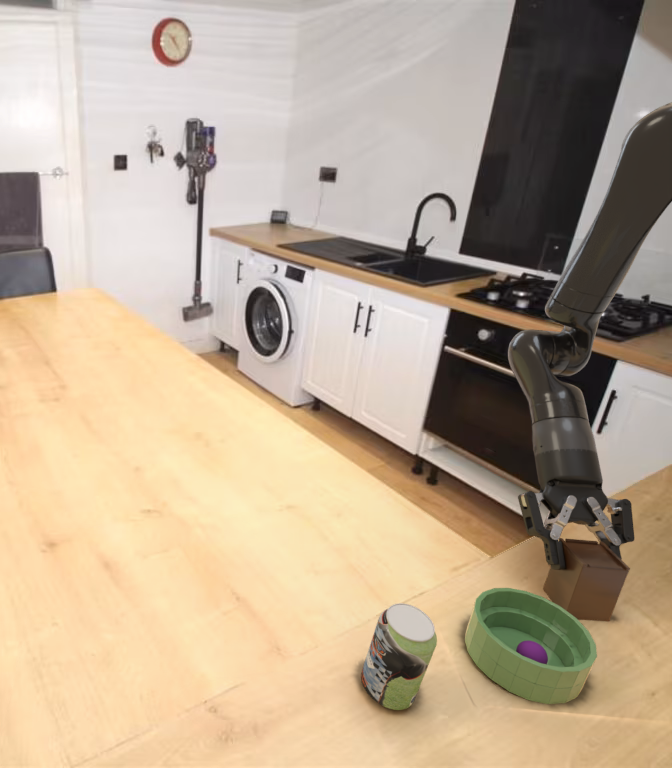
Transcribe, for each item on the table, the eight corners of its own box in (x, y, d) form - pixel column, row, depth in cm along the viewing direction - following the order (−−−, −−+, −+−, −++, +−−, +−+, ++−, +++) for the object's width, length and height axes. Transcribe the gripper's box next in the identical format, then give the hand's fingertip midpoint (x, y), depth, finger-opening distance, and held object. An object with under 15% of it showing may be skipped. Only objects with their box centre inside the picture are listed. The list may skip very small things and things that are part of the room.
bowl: (534, 620, 73) (546, 586, 71) (606, 706, 62) (625, 669, 60) (445, 622, 73) (455, 588, 71) (502, 710, 62) (516, 673, 59)
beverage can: (373, 662, 68) (382, 584, 64) (435, 698, 63) (448, 614, 59) (349, 694, 64) (357, 611, 60) (413, 734, 59) (426, 647, 55)
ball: (519, 662, 68) (505, 645, 67) (539, 646, 68) (525, 630, 67) (537, 680, 65) (523, 663, 64) (559, 664, 64) (545, 647, 64)
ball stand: (542, 589, 79) (559, 537, 76) (584, 593, 78) (602, 541, 75) (564, 618, 74) (583, 564, 70) (609, 622, 73) (630, 568, 70)
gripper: (526, 443, 77) (545, 565, 71) (636, 450, 76) (664, 576, 70) (500, 456, 84) (515, 568, 78) (600, 463, 83) (623, 578, 77)
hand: (585, 571), depth 74 cm, fingers open, 6 cm apart
